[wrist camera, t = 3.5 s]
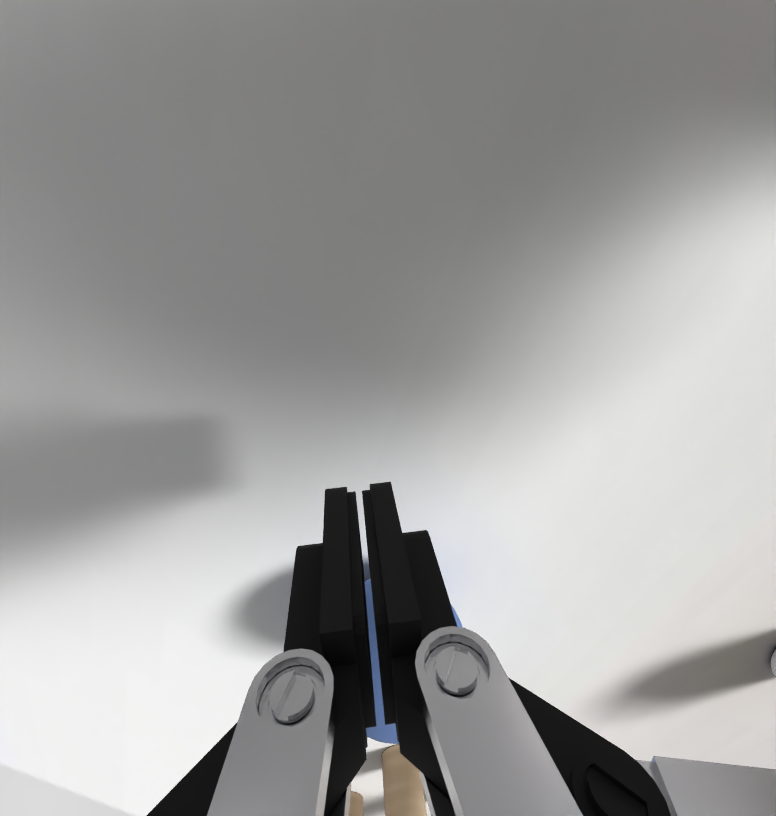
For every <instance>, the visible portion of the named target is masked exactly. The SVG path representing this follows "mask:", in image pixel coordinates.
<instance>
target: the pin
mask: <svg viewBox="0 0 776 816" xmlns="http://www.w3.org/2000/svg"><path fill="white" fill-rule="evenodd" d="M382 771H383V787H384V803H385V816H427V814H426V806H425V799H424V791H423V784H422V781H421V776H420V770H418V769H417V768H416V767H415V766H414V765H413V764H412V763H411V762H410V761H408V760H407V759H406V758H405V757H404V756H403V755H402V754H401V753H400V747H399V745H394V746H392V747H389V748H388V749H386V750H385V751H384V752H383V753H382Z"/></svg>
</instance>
